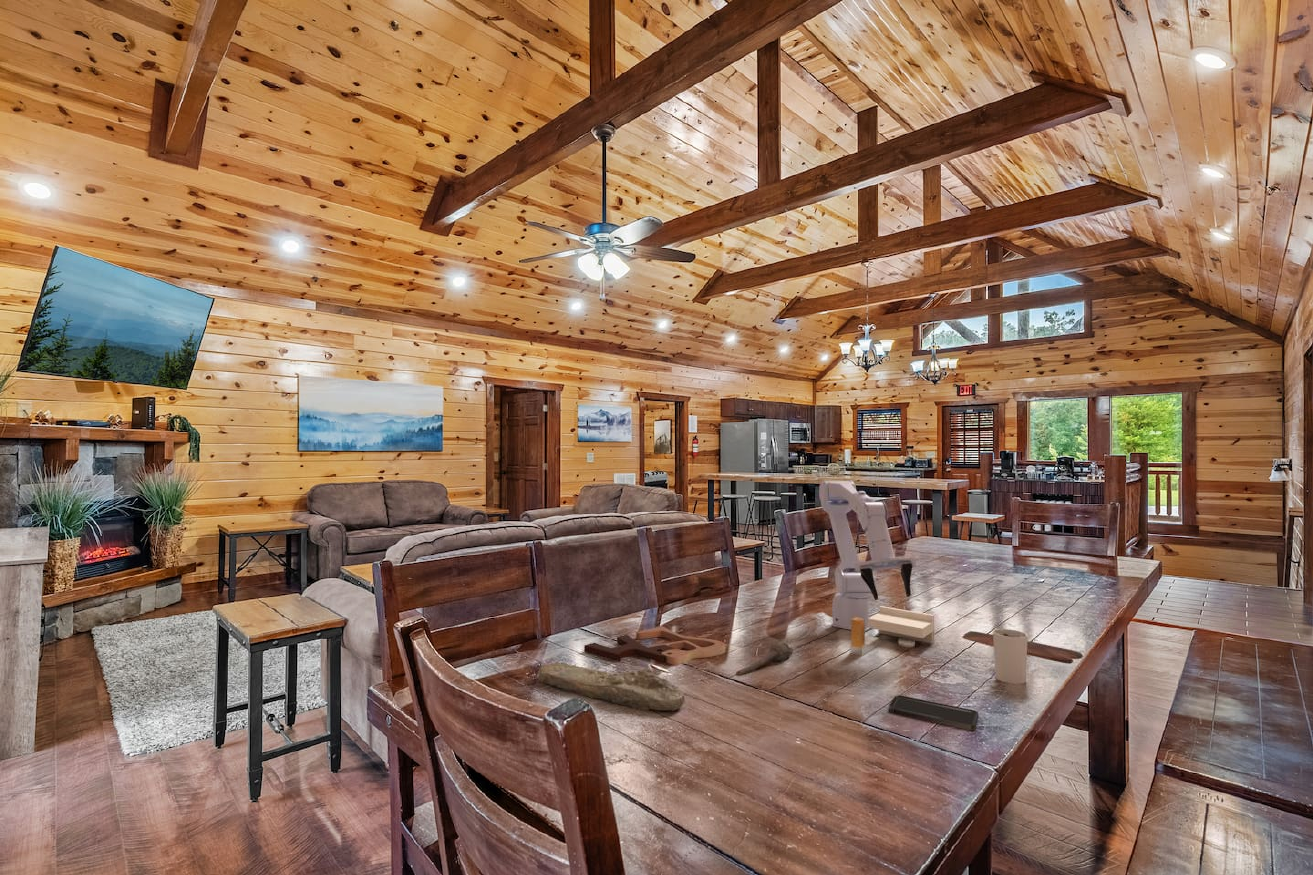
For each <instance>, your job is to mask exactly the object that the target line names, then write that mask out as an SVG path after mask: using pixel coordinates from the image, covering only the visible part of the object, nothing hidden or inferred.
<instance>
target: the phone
mask: <svg viewBox="0 0 1313 875" xmlns="http://www.w3.org/2000/svg"><path fill="white" fill-rule="evenodd" d="M888 712H890V713H892V714H895V715H900V716H904V717H909V718H914V719H918V720H922V721H927V722H932V723H937V724H942V725H944V726H950V727H955V728H958V729H963V730H968V731H974V730H976V728H977V725H978V722H979V721H978V720H979V711H976V710H972V709H968V708H964V707H958V706H954V705H949V704H945V703H940V702H939V703H938V702H935V701H929V700H924V699H918V698H915V697H910V696H905V695H900V694H899V695H895V696H894V697H893V698H892V700H891V702H890V703H889V705H888Z"/></svg>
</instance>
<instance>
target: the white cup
mask: <svg viewBox="0 0 1313 875" xmlns="http://www.w3.org/2000/svg"><path fill="white" fill-rule="evenodd" d="M992 635H993V638H994V646H993V653H994V669H995V670H994V671H995V679H997V680H999V681H1001V682H1004V683H1008V684H1013V685H1022V684H1024V683H1026V681H1027V657H1028V656H1027V655H1028V654H1027V641H1028V634H1027V633H1026V632H1023V631H1020V630H1016V629H1009V628H996V629H993V631H992Z"/></svg>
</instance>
